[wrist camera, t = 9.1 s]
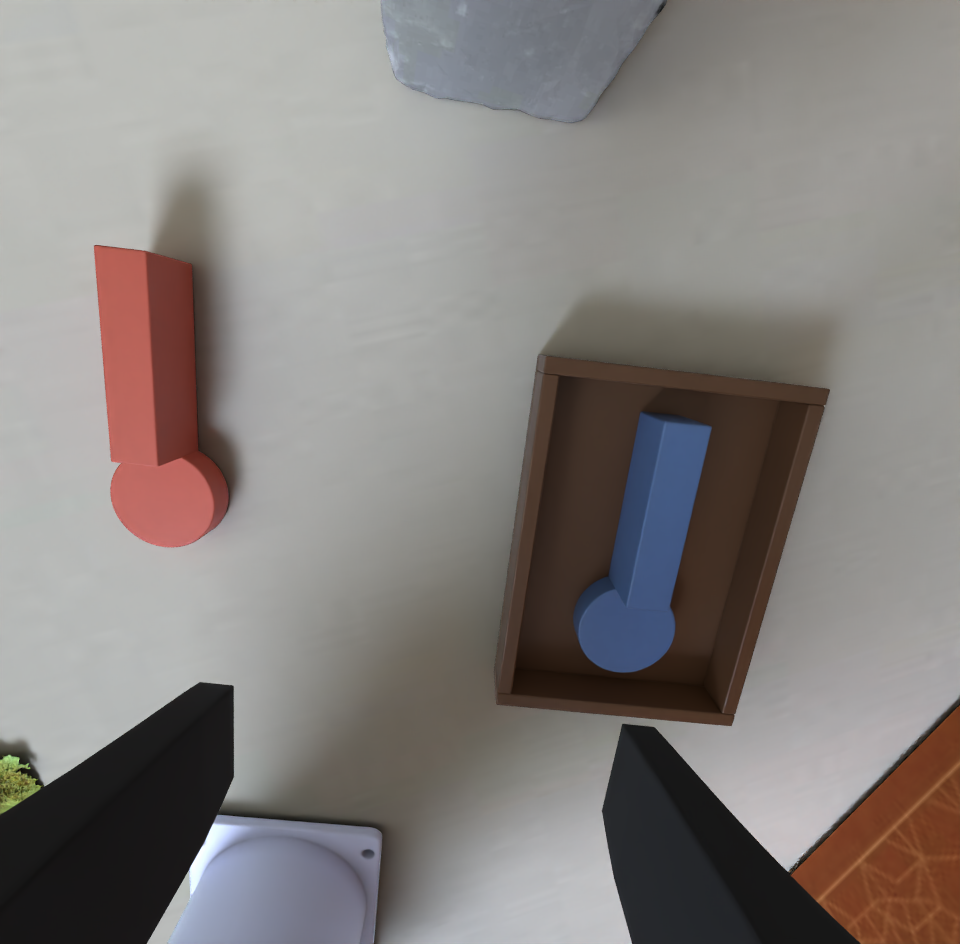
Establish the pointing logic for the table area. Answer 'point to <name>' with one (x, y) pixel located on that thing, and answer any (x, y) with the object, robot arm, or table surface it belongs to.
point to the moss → (14, 783)
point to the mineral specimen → (515, 50)
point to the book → (898, 852)
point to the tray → (594, 522)
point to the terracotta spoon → (154, 399)
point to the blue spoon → (645, 548)
